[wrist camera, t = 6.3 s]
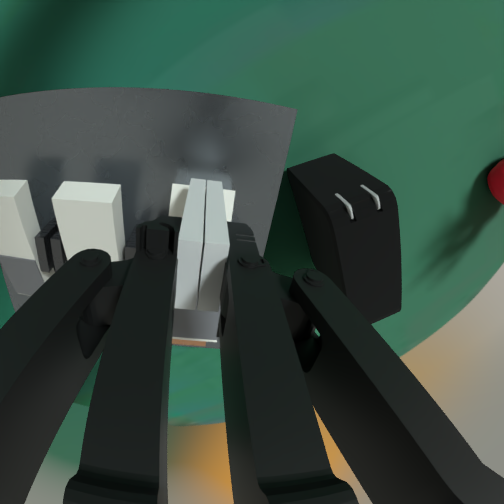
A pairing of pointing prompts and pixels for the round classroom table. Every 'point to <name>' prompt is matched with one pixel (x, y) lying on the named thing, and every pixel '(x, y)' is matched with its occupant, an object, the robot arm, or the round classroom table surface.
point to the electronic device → (351, 232)
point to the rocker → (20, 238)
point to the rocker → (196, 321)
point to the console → (142, 155)
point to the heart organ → (497, 181)
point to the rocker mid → (90, 218)
